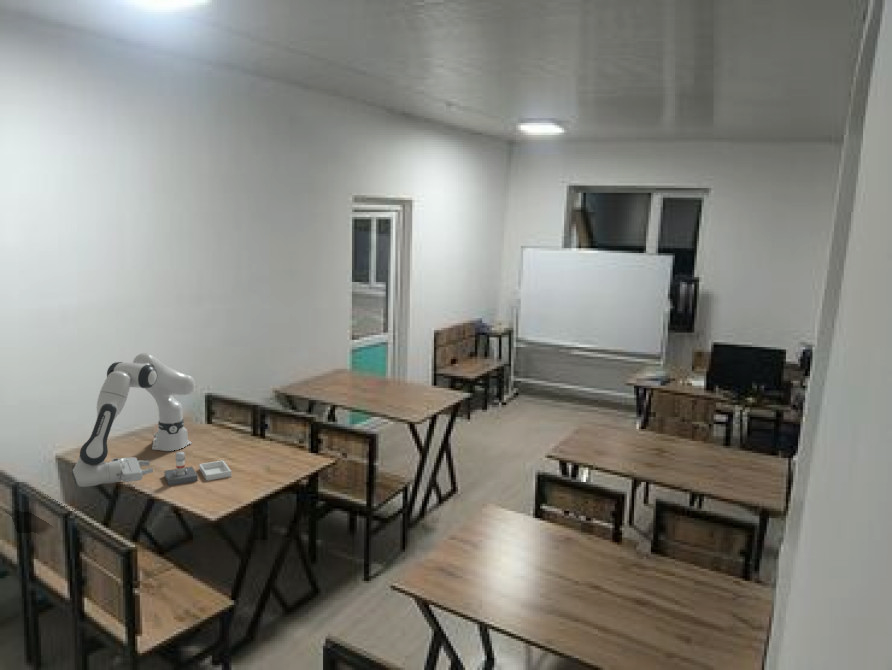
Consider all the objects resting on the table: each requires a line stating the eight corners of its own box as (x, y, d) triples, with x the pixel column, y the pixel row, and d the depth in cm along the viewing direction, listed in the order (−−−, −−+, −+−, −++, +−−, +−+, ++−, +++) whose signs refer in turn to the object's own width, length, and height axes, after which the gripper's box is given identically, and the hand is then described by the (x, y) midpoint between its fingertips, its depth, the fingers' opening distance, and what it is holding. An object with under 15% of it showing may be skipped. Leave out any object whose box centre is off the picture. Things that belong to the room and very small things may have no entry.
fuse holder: (164, 478, 297) (164, 468, 296) (192, 473, 304) (191, 463, 303) (169, 487, 287) (168, 477, 286) (197, 482, 294) (197, 473, 293)
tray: (199, 471, 307) (199, 464, 306) (223, 467, 312) (223, 460, 312) (206, 482, 294) (206, 475, 294) (231, 478, 300) (231, 471, 299)
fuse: (175, 477, 296) (174, 452, 294) (184, 476, 298) (183, 451, 296) (177, 480, 293) (176, 455, 290) (186, 479, 295) (185, 453, 292)
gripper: (118, 473, 271) (154, 467, 278) (113, 457, 288) (147, 452, 295) (119, 487, 272) (154, 481, 279) (113, 470, 289) (147, 465, 296)
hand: (151, 466), depth 287 cm, fingers open, 8 cm apart
